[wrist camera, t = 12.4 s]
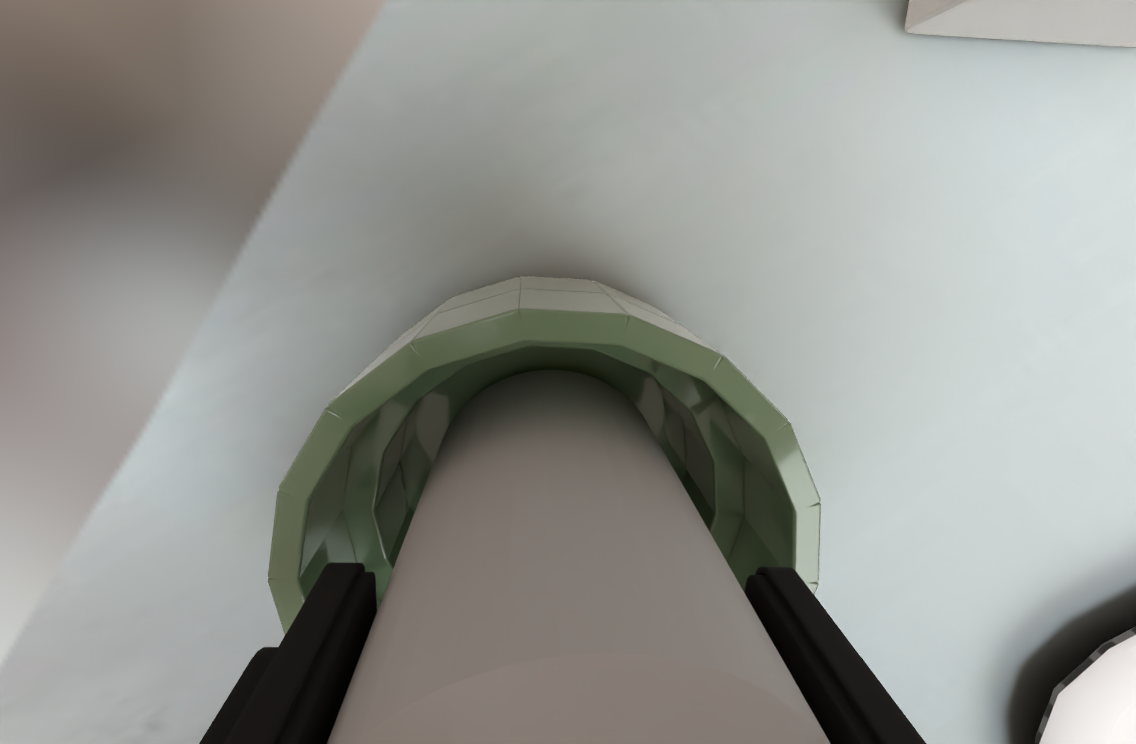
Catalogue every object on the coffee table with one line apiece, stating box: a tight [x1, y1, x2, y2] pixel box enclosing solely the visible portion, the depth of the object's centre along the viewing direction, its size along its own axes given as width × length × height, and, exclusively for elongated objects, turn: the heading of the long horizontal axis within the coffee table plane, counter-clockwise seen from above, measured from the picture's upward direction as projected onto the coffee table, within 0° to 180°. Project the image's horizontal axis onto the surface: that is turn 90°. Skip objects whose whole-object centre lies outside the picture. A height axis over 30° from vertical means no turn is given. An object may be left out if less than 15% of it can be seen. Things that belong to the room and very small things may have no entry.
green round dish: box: [268, 276, 821, 635], centre depth 14 cm, size 11×11×6 cm
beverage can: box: [327, 370, 830, 744], centre depth 10 cm, size 6×6×12 cm
